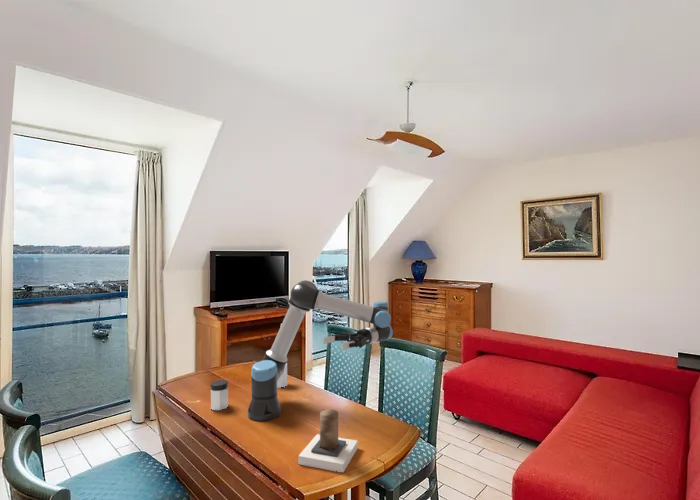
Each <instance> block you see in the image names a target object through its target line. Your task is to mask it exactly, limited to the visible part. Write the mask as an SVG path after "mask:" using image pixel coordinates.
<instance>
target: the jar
mask: <svg viewBox="0 0 700 500" xmlns="http://www.w3.org/2000/svg"><path fill="white" fill-rule="evenodd" d="M209 386H210V410H211V409H212V410H211V411H219V410H220V411H222V409H223V410H225V409H228V408H229V381H228V380H226V379H217V380H213V381H211V383H210V385H209ZM227 407H228V408H227Z"/></svg>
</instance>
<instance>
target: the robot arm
mask: <svg viewBox="0 0 700 500" xmlns="http://www.w3.org/2000/svg"><path fill="white" fill-rule="evenodd" d="M287 303H288V305H289V307H288V309H287V312H286V313H285V316H284V318H283V320H282V323H281V325H280V328H279V330H278V332H277V334H276V336H275V339H274V342H273V343H272V345H271V348H270V349H268V350H266V351H265V353H264V356H263V358H262V360H260V361H257V362H255V363H253V365H252V367H251V373H250V376H251V400H250V402H249V406H248V410H247V417H248V418H249V419H250V420H253V421H261V422H263V421H270V420H273V419H276V418H278V417H280V415H281V414H282V413H281V412H282V407H281V404H280V401H279V398H278V388H277V381H278V379H279V378H280V376H281V375H282V374H283V372H284V368H285V365H286V363H287V364H288V360H289V359H288V357H287V355H288V353H289V350H290V348H291V346H292V344H293V342H294V340H295V337H296V335H297V333H298V331H299V329H300V326H301V324H302V322H303V319H304V317H305V316H306V313H308V312H310V311H311V310H313V311H317V310H321V311H325V312H329V313H333V314H336V315H339V316H343V317H347V318H351V319H354V320H357V321H362V322H365V323H370V324H372V325H373V326H371V327H366V328H365V327H364V328H361V329H358V330H357V332H356V333H352V332H348V333H332V334H331V335H330V336H326V337H325V336H324V337H322V344H323V345H325V344H330V343H335V342H342V343H341V350H348V349H352V348H359V349H361V348H363V347H364V346H366V345H373V344H374V343H379V342H384V341H387V340H390V339H391V338H392V337H393V335H394V330H393V328H392V326H391V325H390V324H391V323H392V322H391V321H392V317H391V314H390V313H389V303H388V301H381V300H379V301H374V302H373V303H372V305H373V306H371V305H367V304H363V303H359V302H356V301H352V300H349V299H346V298H345V299H344V298H343V297H338V296H335V295H331V294H327V293H324V292H322V291H321V290H320V289H318V287H317V286H316V284H315V283H314V282H312V281H310V280H301V281H299V282H297V283H296V284H295V285H293V287H292V289H291V291H290V298H289V300H288V302H287ZM343 341H344V342H343Z"/></svg>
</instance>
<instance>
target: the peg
mask: <svg viewBox="0 0 700 500" xmlns="http://www.w3.org/2000/svg"><path fill="white" fill-rule="evenodd" d="M319 434H320V447H321V448H322V449H324V450H334V449H336V448H337V447H338V438H339V411H337V410H336V409H324V410H322V411H320V412H319Z"/></svg>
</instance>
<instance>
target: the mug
mask: <svg viewBox="0 0 700 500" xmlns="http://www.w3.org/2000/svg"><path fill="white" fill-rule="evenodd" d="M285 386H286V387H288V362H287V363H286V365H285V368H284V372H283V374H282V375H281V376H280V378H279V379H278V381H277V389H282V388H281V387H284V388H286V387H285Z"/></svg>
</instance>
